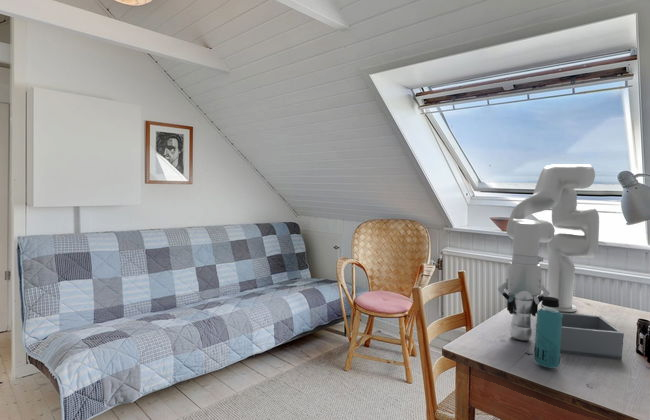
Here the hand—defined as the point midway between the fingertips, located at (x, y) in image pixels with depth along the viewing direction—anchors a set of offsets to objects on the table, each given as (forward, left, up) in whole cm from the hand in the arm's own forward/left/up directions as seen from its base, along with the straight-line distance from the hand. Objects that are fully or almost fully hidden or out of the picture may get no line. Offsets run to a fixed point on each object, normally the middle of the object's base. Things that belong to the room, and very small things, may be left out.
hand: (521, 313), depth 129 cm
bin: (+1, +17, -9) cm, 19 cm away
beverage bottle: (+20, +2, -9) cm, 22 cm away
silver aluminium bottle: (0, 0, -9) cm, 9 cm away
